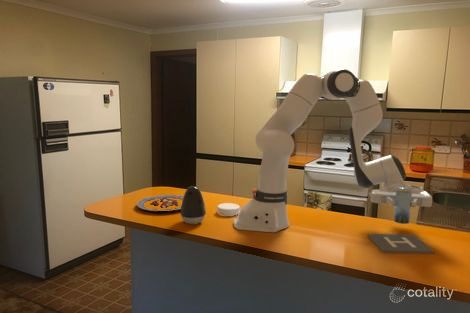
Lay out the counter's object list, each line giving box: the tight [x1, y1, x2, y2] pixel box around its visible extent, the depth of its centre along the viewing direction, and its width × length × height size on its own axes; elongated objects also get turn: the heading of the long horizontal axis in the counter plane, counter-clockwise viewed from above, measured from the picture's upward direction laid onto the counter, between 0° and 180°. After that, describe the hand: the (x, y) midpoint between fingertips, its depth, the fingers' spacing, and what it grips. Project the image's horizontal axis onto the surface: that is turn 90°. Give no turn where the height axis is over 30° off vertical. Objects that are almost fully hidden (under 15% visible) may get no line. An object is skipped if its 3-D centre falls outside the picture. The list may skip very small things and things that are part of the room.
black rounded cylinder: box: [180, 185, 207, 225], centre depth 147 cm, size 10×10×15 cm
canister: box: [393, 186, 412, 225], centre depth 126 cm, size 5×5×12 cm
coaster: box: [216, 202, 241, 217], centre depth 161 cm, size 10×10×4 cm
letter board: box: [367, 233, 436, 255], centre depth 128 cm, size 17×15×1 cm
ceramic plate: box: [136, 194, 184, 212], centre depth 170 cm, size 26×26×3 cm
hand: (403, 203), depth 125 cm, fingers closed on canister, 5 cm apart
